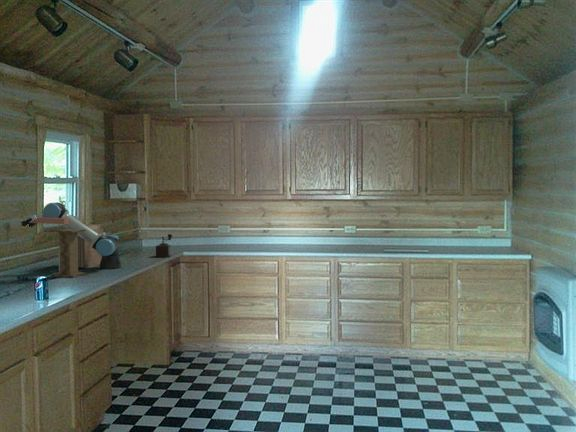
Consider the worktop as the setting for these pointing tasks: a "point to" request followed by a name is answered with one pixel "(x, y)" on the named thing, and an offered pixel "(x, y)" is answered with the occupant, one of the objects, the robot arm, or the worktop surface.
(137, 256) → the worktop surface
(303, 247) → the worktop surface
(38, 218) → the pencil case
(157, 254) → the coffee grinder
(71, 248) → the shelf stand
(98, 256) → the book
